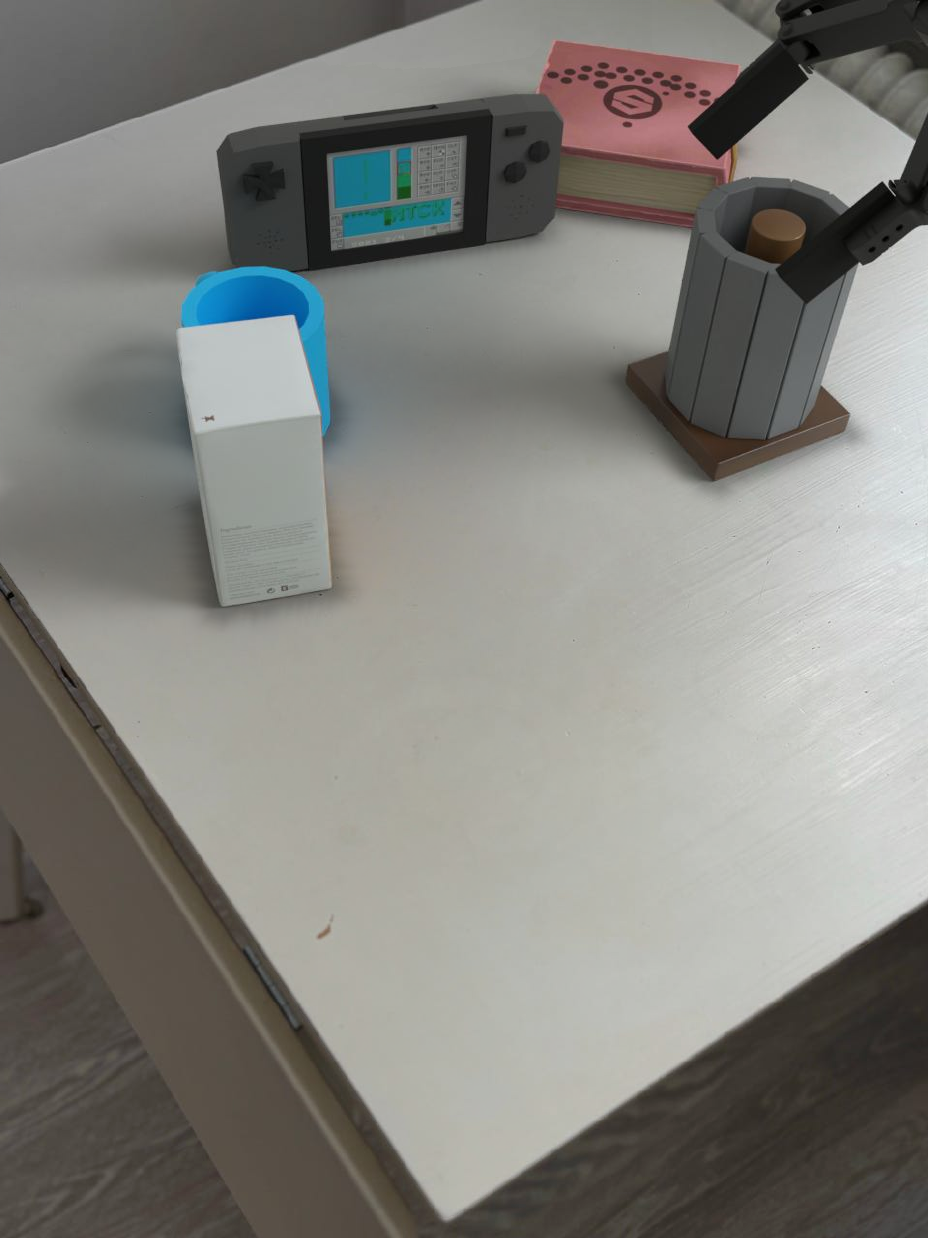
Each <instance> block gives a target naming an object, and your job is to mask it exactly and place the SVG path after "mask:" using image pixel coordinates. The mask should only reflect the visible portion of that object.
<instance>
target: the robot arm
mask: <svg viewBox="0 0 928 1238" xmlns="http://www.w3.org/2000/svg"><path fill="white" fill-rule="evenodd" d="M807 10H808V11H810V13H811V14H807V12H806V11H807ZM774 12H775V14H776V15H777V17H778V19H779V25H780V28H779V29H778V32H777V38H776V39H775V41H774V42H773V43H772V44H771V45H769V46H768V47H767V48H766V49H765V50H764V51H763V52H762V53H761V54H760V55H758V57H756V58H755V59H754V61H752V62H751V63H750V64H748V66H746V67H745V68H744V69H743V70H742V71H741V73H740V74H739V76H738V77H737V79H736V80H735V81H734V82H735V84H733V85H732V86H731V87H730V88H729V89H728V90H727V91H726V92H725V93H724V94H722V95H721V96H720V97H719V98H718V99H717V100H716V101H715V102H714V103H713V104H711V105H710V106H709V107H708V108H707V109H706V110H705V111H704V112H703V113H702V114H700V115H699V116H698V117H697V118H696V119H695V120H694V121H693V122H692V123H691V124H689V125H688V128H689V130H690V131H691V133H692V134H693V135H694V136H695V137H696V138H697V139H698V140H699V142H700V143H701V144H702V145H703V146H704V147H705V148H706V149H707V150H708V151H709V152H710V153H711V154H712V155H713V156H714V157H715V158H716V159H717V160H718V159H719V158H720V157H722V156H723V155H724V154H725V153H726V152H727V151H728V150H729V149H731V148H732V147H733V146H734V145H735V144H736V143H737V144H738V143H739V142H740V141H741V140H742V139H743V138H744V137H745V136H746V135H748V134H749V133H751V131H752V130H753V129H755V128H756V127H757V126H758V125H759V124H760V123H761V122H763V121H764V120H765V119H766V118H767V117H768V116H769V115H770V114H771V113H773V112H774V111H775V110H776V109H777V108H778V107H779V106H780V105H782V104H783V103H784V102H785V101H786V100H787V99H789V97H791V96H792V95H793V94H794V93H796V92H797V91H798V89H800V88H801V87H802V86H803V85H804V84H806V83H807V82H808V80H810V78H809V77H808V75H813V74H814V70H815V67H816V64H819V63H822V62H826V61H830V60H834V59H838V58H842V57H845V56H849V55H853V54H857V53H860V52H865V51H868V50H872V49H876V48H881V47H883V46H888V45H892V44H895V43H900V42H902V41H910V42H912V43H914V44H921V43H924V44H925V46H926V48H928V0H779V1H778V3H776V6H775V9H774ZM805 72H806V73H805ZM922 226H923V227H925V226H928V112H927V114H926V115H925V119H924V121H923V123H922V125H921V127H920V130H919V132H918V135H917V137H916V139H915V142H914V145H913V146H912V149H911V152H910V154H909V157H908V159H907V161H906V163H905V165H904V168H903V171H902V173H901V176H900V177H899V179H893V180H892V179H888V183H887V184H886V183H885V182H884V181H883V180H881V181H880V182H879V183H878V184H876V185H875V186H874V187H873V188H872V189H870V190H869V191H868V192H867V193H866V194H865V195H863V196H862V197H861V198H859V200H857V201H856V202H855V203H854V204H852V205H851V206H849V209H848V210H846V211H845V212H844V213H843V214H841V215H840V216H839V217H838V218H837V219H835V220H834V221H833V222H832V223H831V224H829V225H828V226H827V227H826V228H824V229H823V230H822V231H821V232H820V233H818V234H817V235H816V236H815V237H814V238H812V239H811V240H810V241H809V242H807V243H806V244H805V245H804V246H803V247H801V248H800V249H799V250H798V251H797V252H795V253H794V254H793V255H792V256H790V257H789V258H788V259H787V260H786V261H784V262H783V263H782V264H781V265H780V266H778V267H777V268H776V269H775V270H776V272H777V273H778V275H779V277H780V278H781V279H782V280H783V281H784V282H785V283H786V284H787V285H788V286H789V287H790V288H791V289H792V290H793V291H794V292H795V293H796V294H797V295H798V296H799V297H800V298H801V299H802V300H803V301H804V302H805V303H806V304H808V303H809V302H810V301H812V300H813V299H814V298H815V297H817V296H818V295H819V294H820V293H822V292H823V291H824V290H825V289H827V288H828V287H829V286H830V285H832V284H833V283H834V282H835V281H837V280H838V279H839V278H840V277H842V276H843V275H844V274H845V273H847V272H848V271H849V270H850V269H852V268H853V267H854V266H855V265H857V264H858V263H859V264H860V265H861V266H862V267H863V266H866V265H868V264H871V263H874V261H876V260H877V259H878V258H880V257H881V256H882V255H883V254H885V253H886V252H887V251H889V249H890V248H893V246H895V245H896V244H897V243H898V242H899V241H901V240H902V239H903V238H905V237H906V236H908V234H909V233H911V232H912V231H914V230H915V229H916V228H919V227H922ZM859 264H858V265H859Z"/></svg>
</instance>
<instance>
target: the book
mask: <svg viewBox="0 0 928 1238" xmlns="http://www.w3.org/2000/svg"><path fill="white" fill-rule="evenodd" d="M741 72H742V71H741V64H738V63H730V62H723V61H717V60H716V61H715V60H708V59H702V58H701V59H700V58H693V57H687V56H680V55H679V56H678V55H672V54H664V53H657V52H648V51H643V50H636V49H635V50H634V49H628V48H620V47H613V46H612V47H611V46H605V45H599V44H598V45H597V44H591V43H583V42H577V41H576V42H575V41H571V40H570V41H569V40H562V39H552V42H551V45H550V48H549V52H548V54H547V58H546V60H545V64H544V67H543V70H542V74H541V76H540V79H539V81H538V85H537V88H536V91H535V94H546V96H547V97H548V98H549V99H550V101H551V102H552V103H553V104H554V106H555V107H556V108H557V110H558V112H559V113H560V115H561V116H562V118H563V121H564V126H563V136H562V146H561V156H560V166H559V176H558V186H557V196H556V206H555V208H559V209H565V210H574V211H580V212H586V213H591V214H598V215H599V214H600V215H607V216H612V217H618V218H627V219H633V220H640V221H646V222H652V223H653V222H654V223H658V224H659V223H660V224H666V225H674V226H678V227H679V226H680V227H685V228H692V227H693V222H694V216H695V211H696V208H697V206H698V205H699V204H700V203H701V202H702V200H703V199H704V198H705V197H706V196H707V195H708V194H709V193H710V191H711V190H712V189H713V188H716V186H719V185H723V184H726V183H729V182H733V181H734V178H735V173H736V168H737V164H738V142H737V143H736V144H735V145H734V146H733V147H732V148H731V149H729V150H728V151H727V152H726V153H725V154H724V155H723V156H722V157H720V158H719V159H718V160H717V159H716V158H715V157H714V156H713V155H712V154H711V153H710V152H709V151H708V150H707V149H706V148H705V147H704V146H703V145H702V144H701V143H700V142H699V140H698V139H697V138H696V137H695V136H694V135H693V134H692V133H691V131H690V130H689V128H688V125H689V124H691V123H692V122H693V121H694V120H695V119H696V118H697V117H698V116H699V115H700V114H702V113H703V112H704V111H705V110H706V109H707V108H708V107H709V106H710V105H711V104H713V103H714V102H715V101H716V100H717V99H718V98H719V97H720V96H721V95H722V94H724V93H725V92H726V91H727V90H728V89H729V88H730V87H731V86H732V85H733V84H735V82H734V81H735V80H736V79H737V77H738V76H739V74H740V73H741Z"/></svg>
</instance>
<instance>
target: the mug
mask: <svg viewBox="0 0 928 1238" xmlns="http://www.w3.org/2000/svg"><path fill="white" fill-rule="evenodd" d="M286 315H294V316H295V318H296V321H297V325H298V328H299V332H300V336H301V340H302V343H303V347H304V350H305V354H306V357H307V361H308V365H309V369H310V372H311V376H312V379H313V383H314V387H315V391H316V394H317V398H318V402H319V406H320V409H321V415H322V436H323V437H324V436H325V435H326V433H327V430H328V428H329V426H330V424H331V403H330V387H329V386H330V385H329V371H328V370H329V368H328V353H327V337H326V335H327V334H326V321H325V320H326V319H325V303H324V299H323V297H322V296H321V294H320V292H319V290H318V289H317V287H316V286H315V285H313V284H312V283H311V282H309V281H308V280H307V279H306V278H304V277H303V276H301V275H298V274H296V273H294V272H292V271H286V270H282V269H276V268H271V267H265V266H262V267H241V268H237V267H236V268H232V269H227V270H223V271H220V272H219V271H217V270H211V271H208V272H207V271H206V272H204V273H202V274H201V275H199V276H198V277H197V279H196V282H195V284H194V288H192V289H191V290H190V291H189V292H188V294H187V295H186V297H185V299H184V301H183V303H182V304H181V312H180V322H181V328H185V327H194V326H203V325H211V324H219V323H228V322H236V321H244V320H253V319H262V318H269V317H278V316H286Z"/></svg>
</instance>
